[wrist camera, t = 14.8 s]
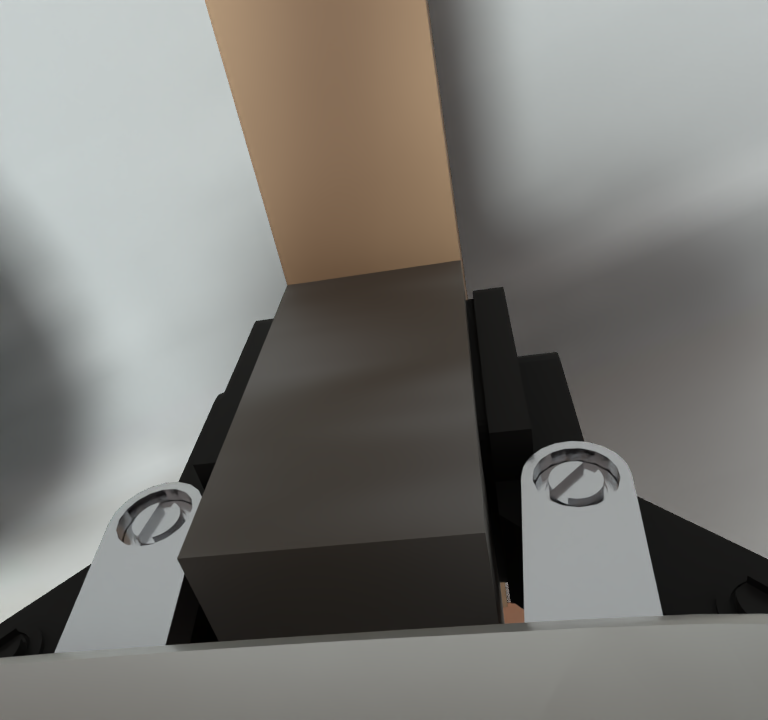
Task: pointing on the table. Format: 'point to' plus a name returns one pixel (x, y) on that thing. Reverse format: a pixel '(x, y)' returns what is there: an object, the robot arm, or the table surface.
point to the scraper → (348, 344)
